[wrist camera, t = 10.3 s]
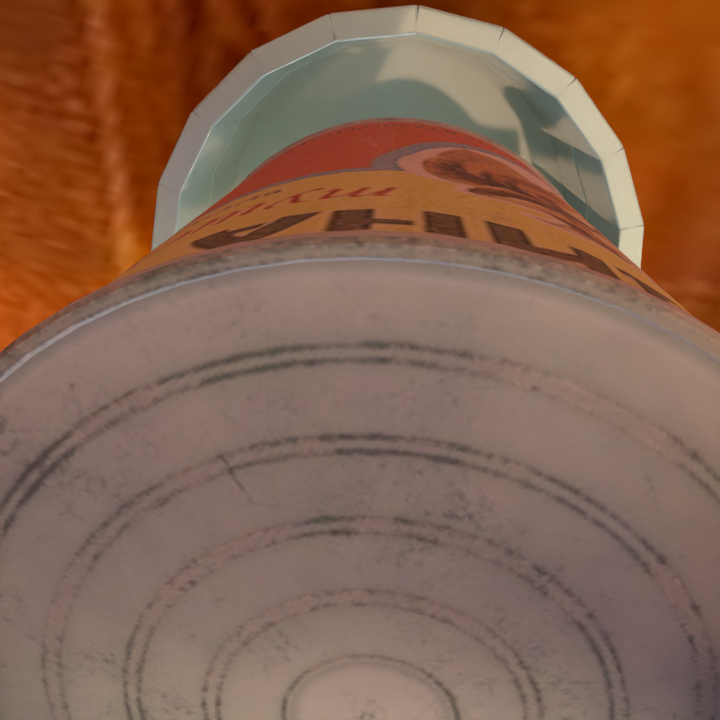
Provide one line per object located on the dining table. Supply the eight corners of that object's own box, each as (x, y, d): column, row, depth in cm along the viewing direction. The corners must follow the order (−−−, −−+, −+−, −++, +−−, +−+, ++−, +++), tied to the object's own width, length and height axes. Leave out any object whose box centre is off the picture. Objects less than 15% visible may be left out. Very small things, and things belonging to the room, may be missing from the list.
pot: (247, 390, 35) (199, 490, 27) (188, 42, 29) (101, 35, 20) (570, 374, 34) (623, 475, 26) (587, 3, 27) (666, -21, 19)
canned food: (694, 282, 17) (1172, 657, 7) (437, 559, 22) (468, 1067, 11) (328, 16, 15) (137, -82, 5) (124, 378, 20) (-228, 776, 9)
